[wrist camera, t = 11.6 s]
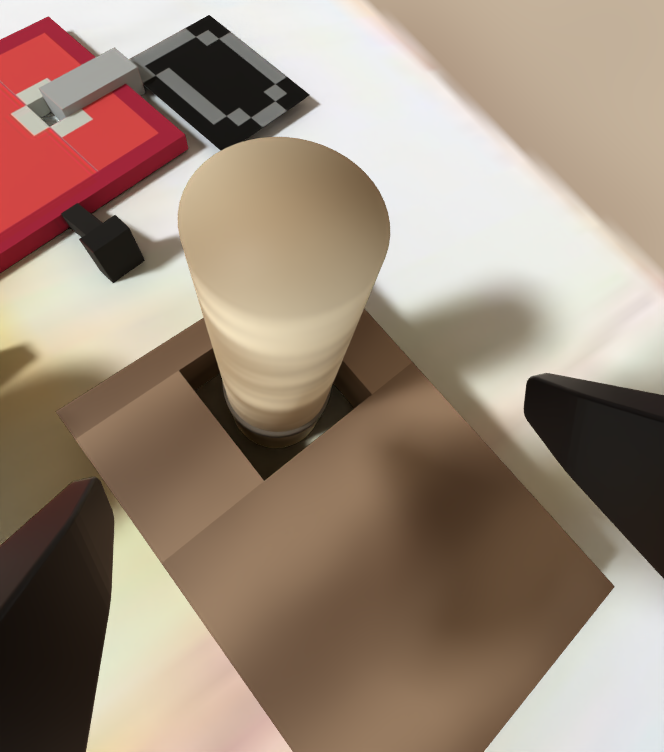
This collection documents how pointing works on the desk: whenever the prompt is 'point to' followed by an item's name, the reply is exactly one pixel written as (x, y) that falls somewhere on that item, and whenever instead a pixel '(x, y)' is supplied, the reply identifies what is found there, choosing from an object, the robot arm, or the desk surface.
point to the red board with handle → (114, 127)
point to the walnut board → (347, 550)
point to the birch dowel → (281, 274)
